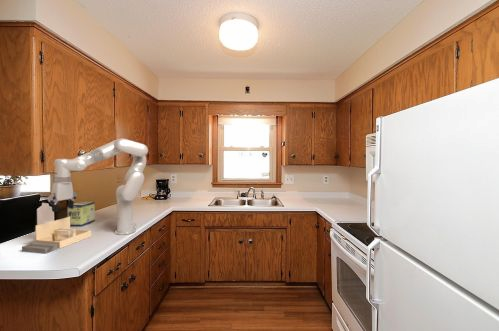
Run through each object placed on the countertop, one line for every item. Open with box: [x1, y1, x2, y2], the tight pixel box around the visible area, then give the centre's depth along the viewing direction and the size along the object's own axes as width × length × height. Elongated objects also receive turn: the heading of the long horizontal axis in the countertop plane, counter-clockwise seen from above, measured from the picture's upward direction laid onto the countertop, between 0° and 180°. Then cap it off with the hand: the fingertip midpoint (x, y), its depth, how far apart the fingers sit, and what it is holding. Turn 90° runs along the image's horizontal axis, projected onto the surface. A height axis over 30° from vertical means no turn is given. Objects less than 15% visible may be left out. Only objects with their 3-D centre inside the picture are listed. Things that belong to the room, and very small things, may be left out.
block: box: [54, 228, 76, 241], centre depth 151 cm, size 4×10×7 cm, turn 79°
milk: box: [36, 202, 55, 225], centre depth 156 cm, size 6×6×22 cm
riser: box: [21, 242, 58, 255], centre depth 136 cm, size 6×15×3 cm, turn 79°
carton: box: [35, 216, 92, 250], centre depth 151 cm, size 21×16×12 cm
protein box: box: [66, 201, 96, 227], centre depth 191 cm, size 10×16×16 cm
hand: (63, 209), depth 147 cm, fingers open, 9 cm apart
